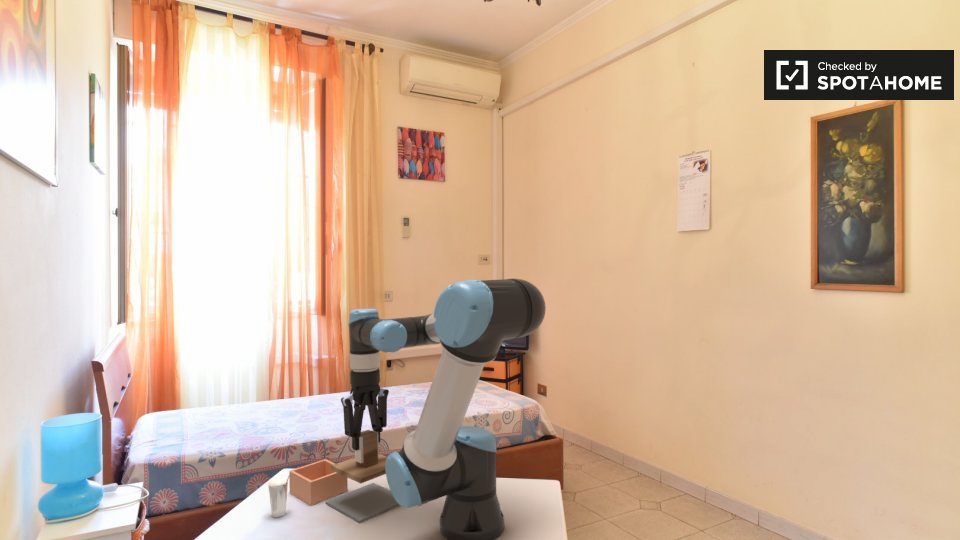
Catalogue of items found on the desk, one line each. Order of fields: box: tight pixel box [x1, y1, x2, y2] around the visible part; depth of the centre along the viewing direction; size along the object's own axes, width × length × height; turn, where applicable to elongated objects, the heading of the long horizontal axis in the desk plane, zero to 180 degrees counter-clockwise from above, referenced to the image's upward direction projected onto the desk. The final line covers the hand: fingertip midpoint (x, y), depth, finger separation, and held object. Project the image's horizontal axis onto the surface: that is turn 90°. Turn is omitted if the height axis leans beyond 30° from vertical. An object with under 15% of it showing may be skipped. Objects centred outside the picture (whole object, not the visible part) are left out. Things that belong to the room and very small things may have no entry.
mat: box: [324, 482, 400, 524], centre depth 136 cm, size 15×15×1 cm
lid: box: [331, 429, 388, 484], centre depth 135 cm, size 13×13×9 cm
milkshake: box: [267, 474, 290, 518], centre depth 130 cm, size 4×5×10 cm
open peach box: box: [288, 458, 349, 506], centre depth 142 cm, size 11×11×6 cm
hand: (366, 458), depth 135 cm, fingers closed on lid, 4 cm apart
